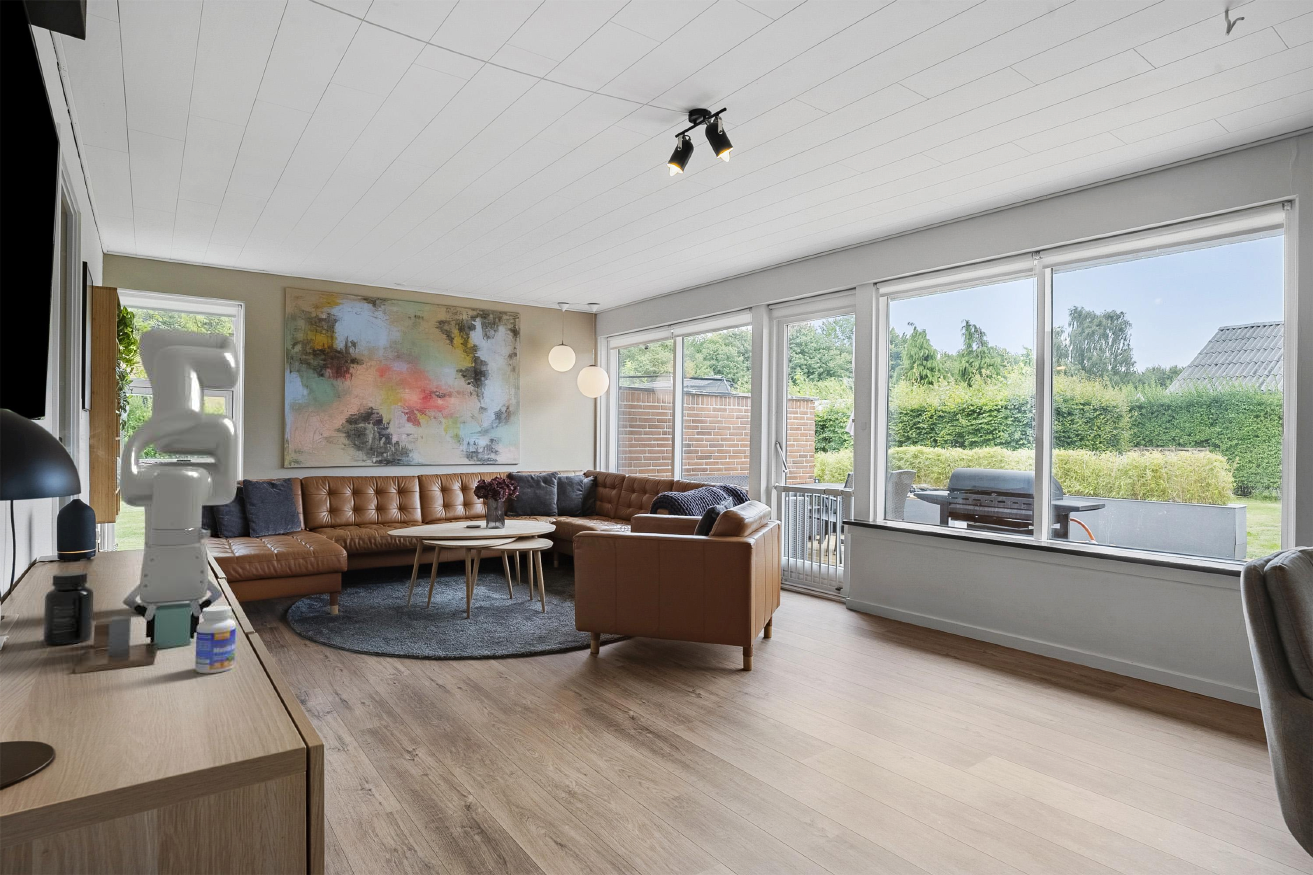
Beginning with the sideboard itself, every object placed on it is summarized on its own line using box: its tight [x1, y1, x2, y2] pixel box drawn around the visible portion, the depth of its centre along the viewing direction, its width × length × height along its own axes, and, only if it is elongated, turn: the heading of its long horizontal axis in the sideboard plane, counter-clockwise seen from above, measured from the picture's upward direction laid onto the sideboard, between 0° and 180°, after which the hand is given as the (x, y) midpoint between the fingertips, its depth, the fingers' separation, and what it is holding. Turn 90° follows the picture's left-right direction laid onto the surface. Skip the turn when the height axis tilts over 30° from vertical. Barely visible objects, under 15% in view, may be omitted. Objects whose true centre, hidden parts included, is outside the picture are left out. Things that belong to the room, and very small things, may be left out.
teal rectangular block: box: [153, 603, 192, 649], centre depth 128 cm, size 5×5×7 cm
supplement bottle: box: [43, 571, 94, 646], centre depth 128 cm, size 7×7×12 cm
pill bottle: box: [194, 605, 237, 674], centre depth 115 cm, size 5×5×10 cm
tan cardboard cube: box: [93, 619, 110, 649], centre depth 126 cm, size 3×3×4 cm
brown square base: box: [74, 615, 159, 674], centre depth 118 cm, size 10×10×7 cm
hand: (172, 637), depth 128 cm, fingers closed on teal rectangular block, 5 cm apart
